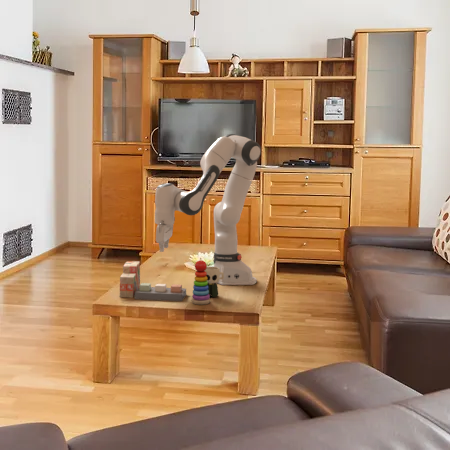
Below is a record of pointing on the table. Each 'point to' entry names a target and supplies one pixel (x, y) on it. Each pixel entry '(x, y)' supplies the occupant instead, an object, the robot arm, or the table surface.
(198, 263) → the stacking toy
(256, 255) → the table surface
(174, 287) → the terracotta button
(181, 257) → the table surface
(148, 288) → the sage button
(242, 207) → the robot arm
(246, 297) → the table surface
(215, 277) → the character mug
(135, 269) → the stack of blocks
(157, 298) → the button panel
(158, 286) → the cream button
